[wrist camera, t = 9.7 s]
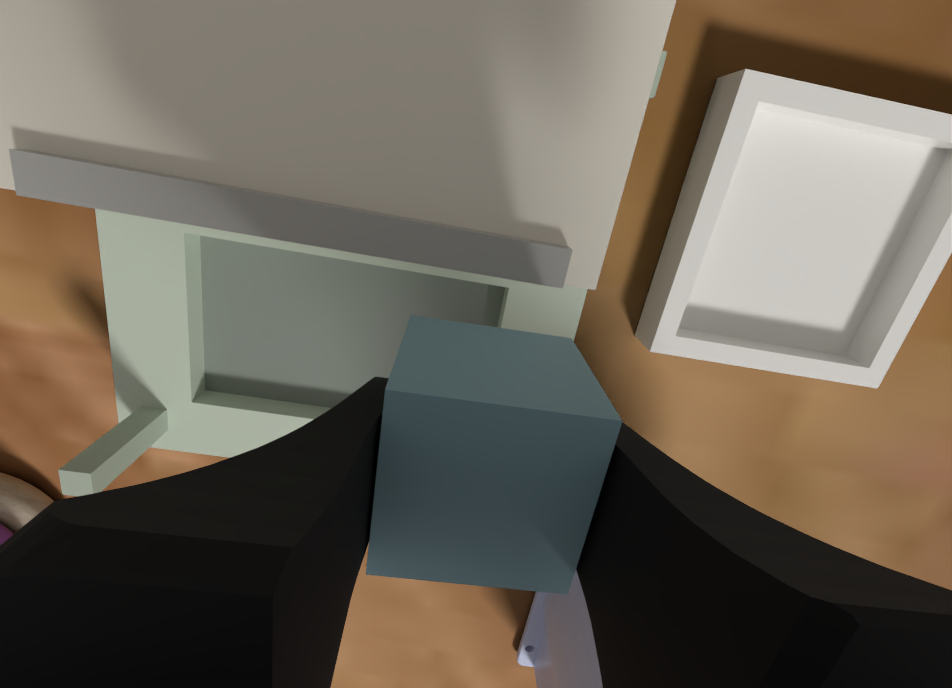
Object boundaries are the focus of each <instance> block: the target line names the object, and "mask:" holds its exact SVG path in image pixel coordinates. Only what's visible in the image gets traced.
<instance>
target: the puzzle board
mask: <svg viewBox="0 0 952 688" xmlns="http://www.w3.org/2000/svg"><path fill="white" fill-rule="evenodd" d="M666 55H667V52H666V51H662V53H661V57H660V60H659V64H658V67H657V71H656V75H655V78H654V82H653V85H652V89H651V93H650V96H649V99H650V98H653V97H655V94H656V90H657V87H658V83H659V79H660V76H661V72H662V69H663V65H664V62H665V58H666ZM95 212H96V221H97V230H98V239H99V248H100V258H101V267H102V276H103V285H104V294H105V303H106V312H107V321H108V330H109V340H110V349H111V358H112V367H113V376H114V385H115V394H116V403H117V412H118V422H119V424H118V425H116V426H115V427H114V428H112V429H111V430H110V431H108V432H107V433H106V434H105V435H103V436H102V437H101V438H99V439H98V440H97V441H95V442H94V443H93V444H92V445H90V446H89V447H88V448H86V449H85V450H84V451H82V452H81V453H80V454H78V455H77V456H76V457H75V458H73V459H72V460H71V461H69V462H68V463H67V464H65V465H64V466H63V467H61V468H60V469H59V470H58V471H59V477H60V482H61V488H62V494H64V495H72V496H83V495H88V494H93V493H98V492H101V491H102V490H103V489H104V488H106V487H107V486H108V485H109V484H110V483H111V482H112V481H113V480H114V479H115V478H116V477H118V476H119V475H120V474H121V473H122V472H123V471H124V470H125V469H126V468H127V467H128V466H130V465H131V464H132V463H133V462H134V461H135V460H136V459H137V458H138V457H139V456H140V455H142V454H143V453H144V452H145V451H146V450H147V449H148V448H149V447H153V448H160V449H168V450H176V451H184V452H191V453H199V454H207V455H215V456H222V457H230V458H231V457H234V456H236V455H239V454H242V453H245V452H247V451H250V450H253V449H255V448H258V447H260V446H263V445H265V444H267V443H269V442H272V441H274V440H276V439H278V438H280V437H282V436H284V435H287V434H288V433H290V432H292V431H294V430H296V429H298V428H300V427H302V426H304V425H305V424H307V423H309V422H310V421H312V420H314V419H315V418H317V417H318V416H320V415H322V414H323V413H325V412H327V411H328V410H330V409H331V408H333V407H334V406H335V405H337V404H338V403H340V402H341V401H343V400H344V399H345V398H347V397H348V396H349V395H351V394H352V393H353V392H355V391H356V390H357V389H359V388H360V387H361V386H363V385H364V384H365V383H367V382H368V381H370V380H371V379H372V378H374V377H375V376H376V377H383V378H389V377H390V374H391V371H392V368H393V365H394V362H395V359H396V356H397V353H398V350H399V348H400V345H401V342H402V339H403V336H404V333H405V330H406V327H407V324H408V321H409V318H410V316H411V315H416V316H423V317H430V318H437V319H443V320H450V321H457V322H464V323H471V324H478V325H484V326H491V327H498V328H505V329H512V330H519V331H525V332H532V333H539V334H546V335H553V336H560V337H566V338H572V340H573V342H574V338H575V334H576V331H577V327H578V323H579V320H580V316H581V312H582V309H583V305H584V301H585V298H586V294H587V290H588V289H586V288H580V287H574V286H568V285H564V286H563V289H562V288H556V287H550V286H544V285H538V284H532V283H527V282H521V281H515V280H509V279H503V278H497V277H492V276H486V275H480V274H474V273H468V272H462V271H456V270H451V269H445V268H439V267H433V266H427V265H421V264H416V263H410V262H404V261H398V260H392V259H386V258H381V257H375V256H369V255H363V254H357V253H351V252H345V251H340V250H334V249H328V248H322V247H316V246H310V245H305V244H299V243H293V242H287V241H281V240H275V239H270V238H264V237H258V236H252V235H246V234H240V233H234V232H229V231H223V230H217V229H211V228H205V227H199V226H194V225H188V224H182V223H176V222H170V221H164V220H159V219H153V218H147V217H141V216H135V215H129V214H123V213H118V212H112V211H106V210H100V209H95Z"/></svg>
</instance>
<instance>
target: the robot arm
mask: <svg viewBox="0 0 952 688" xmlns="http://www.w3.org/2000/svg"><path fill="white" fill-rule="evenodd" d="M388 380H389V378H383V377H376V376H375V377H374V378H372V379H371V380H370V381H368V382H367V383H365V384H364V385H363V386H361V387H360V388H359V389H357V390H356V391H355V392H353V393H352V394H351V395H349V396H348V397H347V398H345V399H344V400H343V401H341V402H340V403H338V404H337V405H335V406H334V407H333V408H331V409H330V410H328V411H327V412H325V413H323V414H322V415H320V416H318V417H317V418H315V419H314V420H312V421H310V422H309V423H307V424H305V425H304V426H302V427H300V428H298V429H296V430H294V431H292V432H290V433H288V434H287V435H284V436H282V437H280V438H278V439H276V440H274V441H272V442H269V443H267V444H265V445H263V446H260V447H258V448H255V449H253V450H250V451H247V452H245V453H242V454H239V455H236V456H234V457H231V458H228V459H226V460H223V461H220V462H217V463H215V464H212V465H209V466H205V467H202V468H199V469H195V470H192V471H189V472H185V473H182V474H178V475H174V476H170V477H166V478H163V479H159V480H155V481H151V482H147V483H142V484H138V485H134V486H129V487H124V488H119V489H113V490H108V491H103V492H98V493H93V494H88V495H83V496H78V497H73V498H67V499H61V500H55V501H54V502H53V503H51V504H50V505H49V506H47V507H46V508H45V509H44V510H42V511H41V512H40V513H39V514H37V515H36V516H35V517H34V518H33V519H31V520H30V521H29V522H28V523H27V524H25V525H24V526H23V527H22V528H21V529H19V530H18V531H17V532H16V533H14V534H13V535H12V536H11V537H10V538H8V539H7V540H6V541H5V542H4V543H2V544H1V545H0V688H330V687H331V682H332V678H333V673H334V669H335V664H336V660H337V656H338V651H339V647H340V642H341V638H342V634H343V629H344V625H345V621H346V617H347V612H348V608H349V604H350V599H351V596H352V592H353V589H354V585H355V582H356V578H357V575H358V572H359V569H360V566H361V563H362V560H363V557H364V554H365V552H366V549H367V546H368V543H369V539H370V529H371V520H372V510H373V501H374V491H375V481H376V472H377V462H378V453H379V443H380V434H381V424H382V414H383V405H384V395H385V388H386V385H387V382H388ZM517 662H518V663H519V664H520V665H522V666H529V667H534V670H535V677H536V684H537V688H952V591H951V590H949V589H946V588H943V587H940V586H937V585H934V584H931V583H929V582H926V581H923V580H920V579H917V578H914V577H911V576H909V575H906V574H903V573H900V572H897V571H894V570H891V569H889V568H886V567H883V566H881V565H878V564H875V563H873V562H871V561H868V560H866V559H863V558H861V557H858V556H856V555H853V554H851V553H848V552H846V551H843V550H841V549H839V548H836V547H834V546H831V545H829V544H827V543H824V542H822V541H820V540H818V539H815V538H813V537H811V536H809V535H806V534H804V533H802V532H800V531H798V530H796V529H794V528H792V527H790V526H788V525H785V524H783V523H781V522H779V521H777V520H775V519H773V518H771V517H769V516H767V515H765V514H763V513H761V512H759V511H757V510H755V509H753V508H751V507H750V506H748V505H746V504H744V503H742V502H741V501H739V500H737V499H735V498H734V497H732V496H730V495H728V494H727V493H725V492H723V491H721V490H720V489H718V488H716V487H714V486H713V485H711V484H710V483H708V482H706V481H705V480H703V479H701V478H700V477H698V476H697V475H695V474H694V473H692V472H691V471H689V470H688V469H686V468H685V467H683V466H682V465H680V464H679V463H677V462H676V461H674V460H673V459H672V458H670V457H669V456H667V455H666V454H665V453H663V452H662V451H660V450H659V449H658V448H656V447H655V446H654V445H652V444H651V443H649V442H648V441H647V440H645V439H644V438H643V437H641V436H640V435H639V434H637V433H636V432H635V431H633V430H632V429H631V428H629V427H628V426H627V425H625V424H624V423H623V422H622V424H621V427H620V431H619V434H618V437H617V440H616V443H615V447H614V450H613V453H612V456H611V459H610V462H609V466H608V469H607V472H606V475H605V478H604V482H603V485H602V488H601V491H600V494H599V498H598V501H597V504H596V507H595V510H594V513H593V517H592V520H591V523H590V526H589V529H588V533H587V536H586V539H585V542H584V545H583V548H582V552H581V555H580V558H579V561H578V564H577V568H576V571H575V574H574V577H573V580H572V583H571V587H570V590H569V593H568V595H566V594H556V593H546V592H535V596H534V599H533V602H532V606H531V609H530V612H529V615H528V619H527V622H526V625H525V629H524V632H523V635H522V638H521V642H520V645H519V648H518V652H517Z"/></svg>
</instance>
